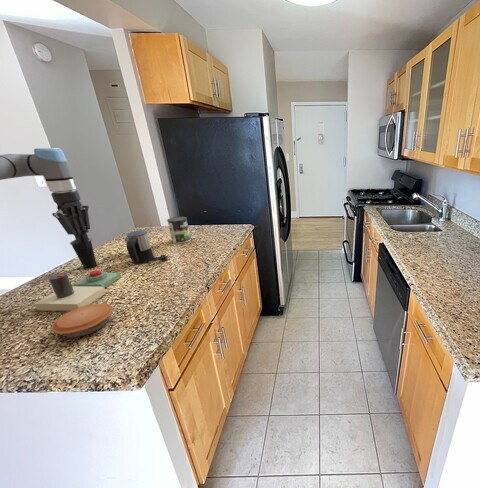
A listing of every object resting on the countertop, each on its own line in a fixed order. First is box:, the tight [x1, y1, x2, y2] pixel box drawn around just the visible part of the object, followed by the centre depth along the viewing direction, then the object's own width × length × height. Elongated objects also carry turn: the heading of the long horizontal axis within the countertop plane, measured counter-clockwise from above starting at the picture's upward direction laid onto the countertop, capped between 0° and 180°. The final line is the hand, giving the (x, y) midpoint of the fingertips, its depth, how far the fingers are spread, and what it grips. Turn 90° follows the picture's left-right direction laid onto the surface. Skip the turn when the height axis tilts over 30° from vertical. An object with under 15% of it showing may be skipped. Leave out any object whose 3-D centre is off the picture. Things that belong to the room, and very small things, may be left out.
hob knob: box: [48, 272, 74, 298], centre depth 98 cm, size 5×5×8 cm
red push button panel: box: [72, 270, 122, 289], centre depth 113 cm, size 12×10×4 cm
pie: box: [50, 303, 114, 338], centre depth 86 cm, size 15×16×5 cm
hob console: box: [33, 285, 107, 312], centre depth 100 cm, size 16×12×3 cm
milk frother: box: [125, 229, 169, 264], centre depth 132 cm, size 14×16×15 cm
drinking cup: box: [69, 237, 98, 270], centre depth 124 cm, size 8×8×20 cm
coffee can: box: [166, 216, 192, 245], centre depth 158 cm, size 10×10×14 cm
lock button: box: [88, 269, 101, 277], centre depth 112 cm, size 4×4×2 cm
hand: (85, 248), depth 107 cm, fingers closed
